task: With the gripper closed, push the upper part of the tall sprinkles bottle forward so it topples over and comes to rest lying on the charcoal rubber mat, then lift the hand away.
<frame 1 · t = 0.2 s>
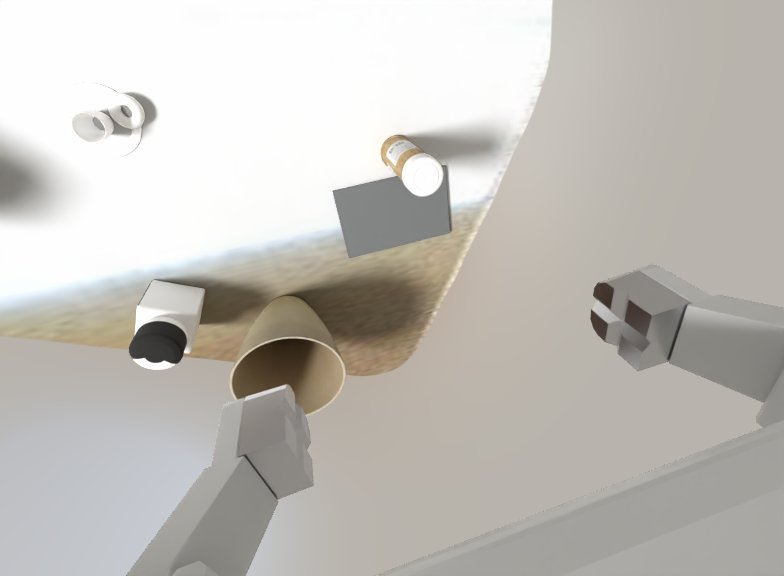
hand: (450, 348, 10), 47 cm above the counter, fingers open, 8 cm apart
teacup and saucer: (132, 138, 46), on the counter
medicine bottle: (177, 302, 58), on the counter
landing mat: (394, 212, 58), on the counter
plant pot: (288, 312, 63), on the counter
sprinkles bottle: (395, 151, 54), on the counter
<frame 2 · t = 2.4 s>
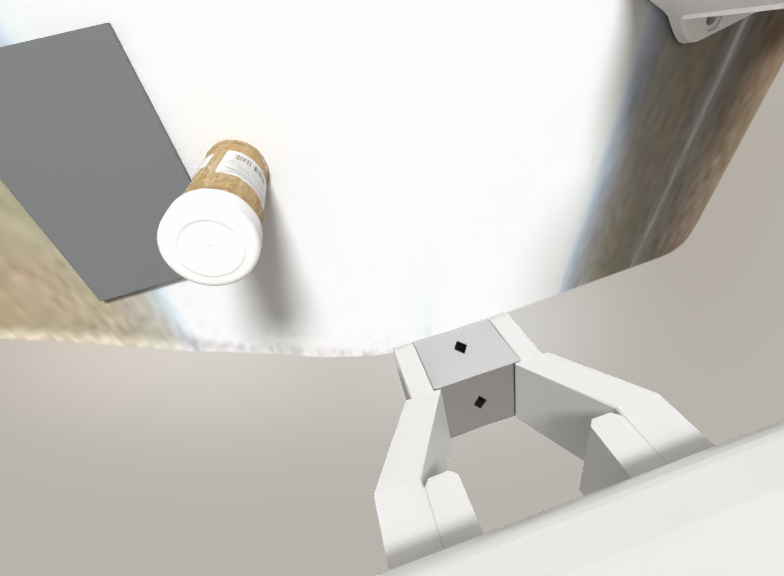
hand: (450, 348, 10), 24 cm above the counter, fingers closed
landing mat: (105, 183, 27), on the counter
sprinkles bottle: (238, 169, 29), on the counter
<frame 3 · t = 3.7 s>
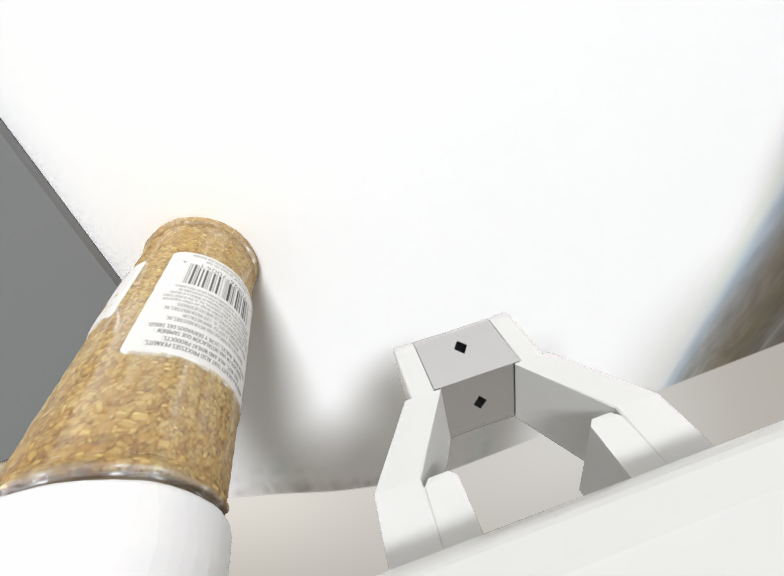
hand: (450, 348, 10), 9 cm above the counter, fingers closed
sprinkles bottle: (206, 260, 17), on the counter
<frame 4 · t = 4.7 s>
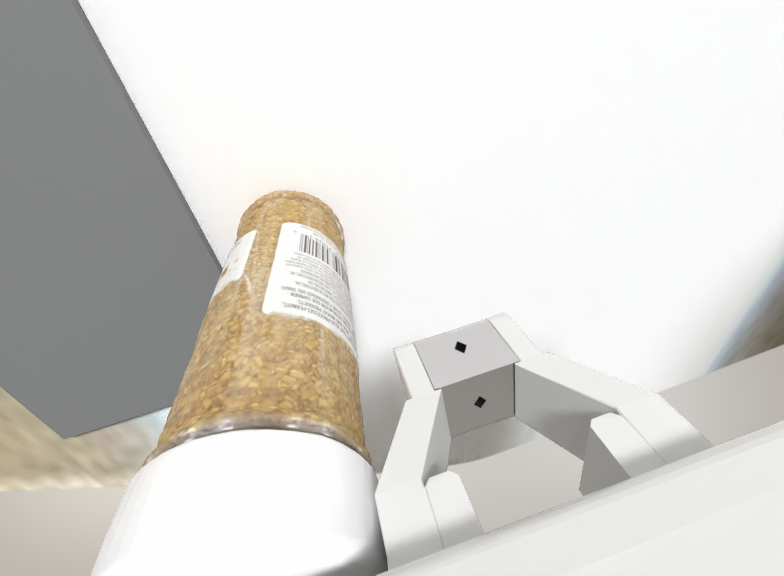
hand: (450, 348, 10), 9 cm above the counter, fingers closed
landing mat: (65, 265, 15), on the counter
sprinkles bottle: (294, 235, 17), on the counter, touching gripper
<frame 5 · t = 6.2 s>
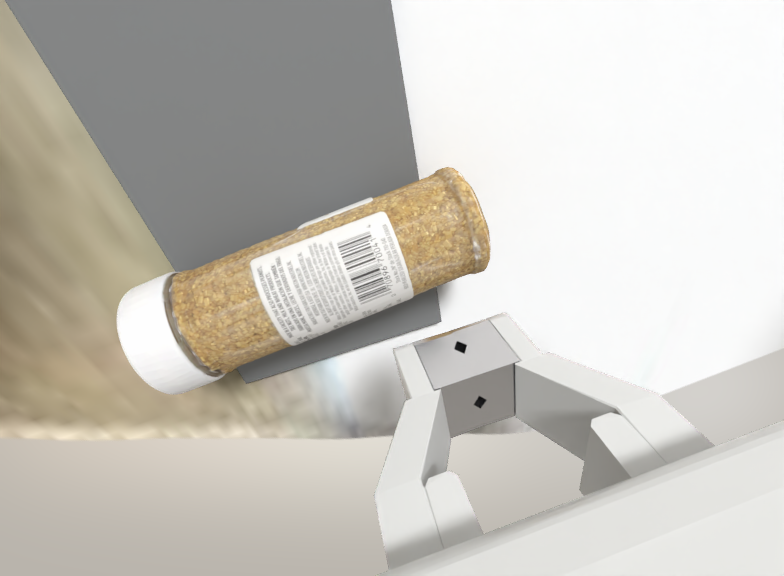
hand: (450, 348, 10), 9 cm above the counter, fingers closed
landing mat: (292, 203, 16), on the counter
sprinkles bottle: (473, 217, 15), point 3 cm above the counter, touching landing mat
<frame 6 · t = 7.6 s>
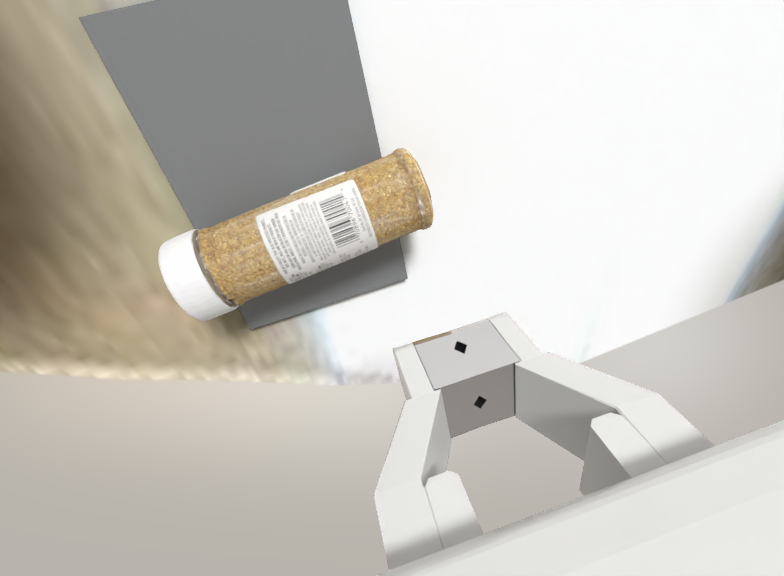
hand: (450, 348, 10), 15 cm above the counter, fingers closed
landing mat: (285, 179, 21), on the counter
sprinkles bottle: (422, 186, 21), point 3 cm above the counter, touching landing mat
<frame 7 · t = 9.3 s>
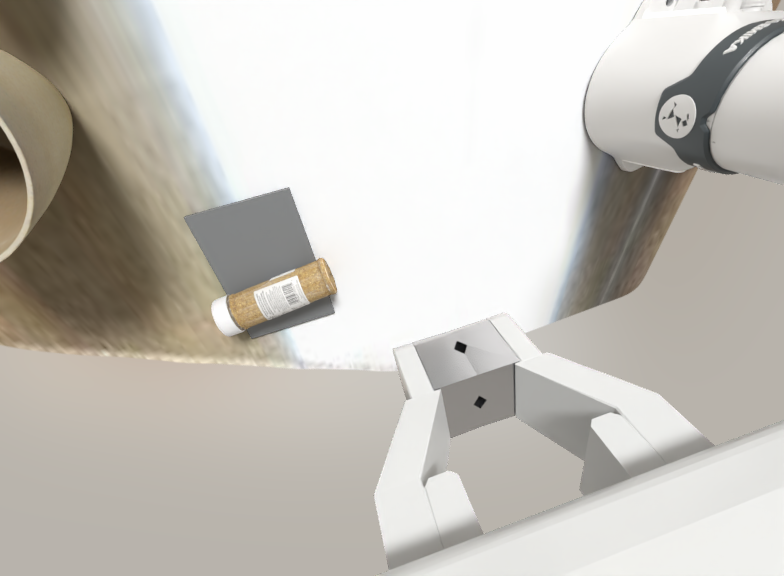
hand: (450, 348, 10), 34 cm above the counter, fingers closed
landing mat: (268, 269, 44), on the counter
plant pot: (23, 110, 32), on the counter
sprinkles bottle: (332, 274, 44), point 3 cm above the counter, touching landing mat
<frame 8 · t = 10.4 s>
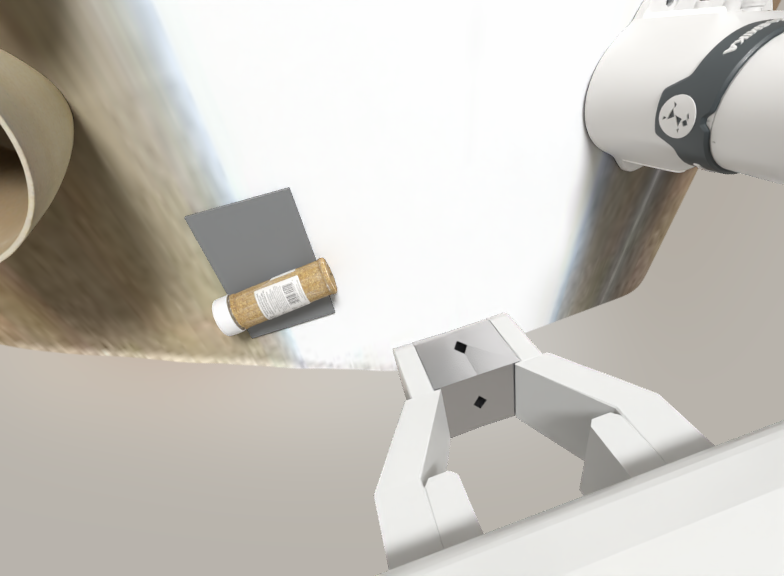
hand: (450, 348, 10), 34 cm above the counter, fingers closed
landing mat: (268, 268, 44), on the counter
plant pot: (24, 110, 32), on the counter
sprinkles bottle: (333, 274, 44), point 3 cm above the counter, touching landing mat
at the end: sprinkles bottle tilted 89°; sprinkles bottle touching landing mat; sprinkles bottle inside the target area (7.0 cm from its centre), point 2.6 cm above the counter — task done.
